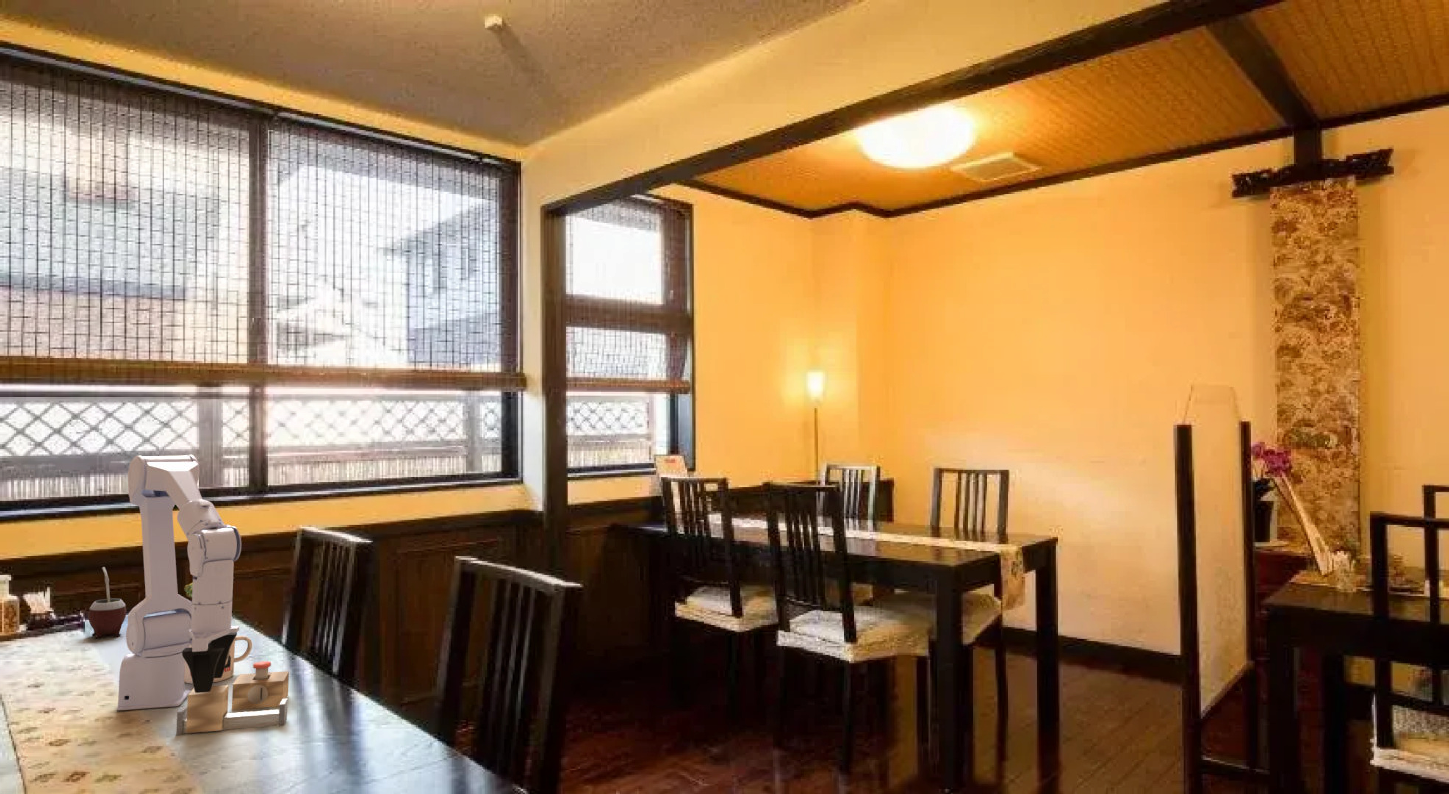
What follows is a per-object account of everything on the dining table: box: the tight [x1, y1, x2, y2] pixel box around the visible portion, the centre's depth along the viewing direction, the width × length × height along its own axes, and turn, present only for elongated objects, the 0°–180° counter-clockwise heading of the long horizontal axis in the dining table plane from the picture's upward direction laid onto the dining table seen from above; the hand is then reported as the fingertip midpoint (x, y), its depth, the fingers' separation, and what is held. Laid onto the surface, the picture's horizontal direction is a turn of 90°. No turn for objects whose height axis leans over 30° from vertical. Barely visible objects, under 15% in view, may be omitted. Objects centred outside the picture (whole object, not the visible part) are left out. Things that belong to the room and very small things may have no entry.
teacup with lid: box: [184, 635, 253, 685], centre depth 167 cm, size 12×9×12 cm
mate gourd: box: [87, 566, 127, 640], centre depth 195 cm, size 8×8×15 cm
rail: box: [175, 697, 289, 736], centre depth 141 cm, size 16×3×4 cm, turn 109°
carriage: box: [185, 684, 230, 734], centre depth 139 cm, size 5×4×6 cm
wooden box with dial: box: [231, 670, 290, 711], centre depth 152 cm, size 8×6×4 cm
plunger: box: [252, 660, 272, 680], centre depth 153 cm, size 3×3×4 cm
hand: (208, 684), depth 139 cm, fingers open, 7 cm apart
